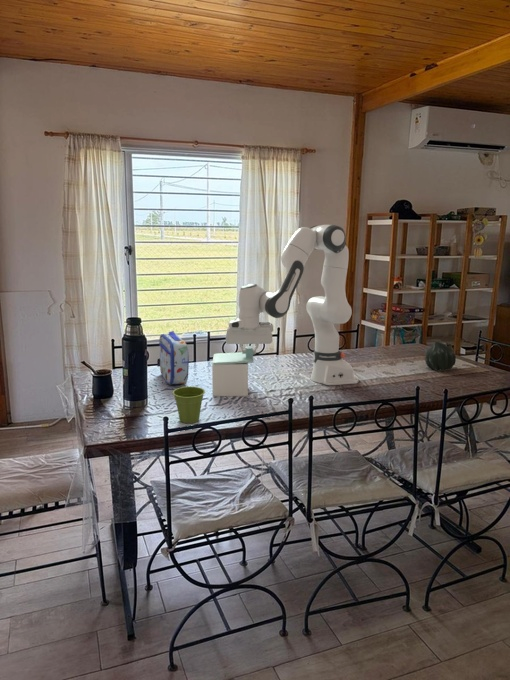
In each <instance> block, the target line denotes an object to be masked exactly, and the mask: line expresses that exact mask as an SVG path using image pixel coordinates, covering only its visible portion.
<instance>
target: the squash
mask: <svg viewBox="0 0 510 680" xmlns="http://www.w3.org/2000/svg"><path fill="white" fill-rule="evenodd" d="M424 358H425V359H424V360H425V364H426V366H427V367H428V368H429V369H431V370H434V371H437V372H439V371H441V372H445V371H447V370H451V369H452V368H453V367H454V366H455V365H456V359H457V357H456V354H455V352H454V350H453V349H452V348H451V347H449V346H448V345H447V344H445V343H442V342H440V341H435V342H434V343H433V344H432V345H431V346H430V347H429V349H427V351H426V353H425V356H424ZM438 370H439V371H438Z"/></svg>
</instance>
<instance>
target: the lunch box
mask: <svg viewBox="0 0 510 680" xmlns="http://www.w3.org/2000/svg"><path fill="white" fill-rule="evenodd" d="M158 341H159V342H158V344H159V358H157V362H156V364H157V367H158V368H159V367H160V368H159V369H160V374H161V376H162V377H163V379H164V381H165V382H166V383H167V384H169V385H181V384H186V383H187V382H188V379H189V367H190V365H189V364H190V359H189V357H190V355H189V349H188V345H187V343H186V341H185V340H184V339H182V337H180V336H179V335H178V334H177V333H175V331H174V330H172V331H168V333H163V334H160V336H159V340H158Z"/></svg>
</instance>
